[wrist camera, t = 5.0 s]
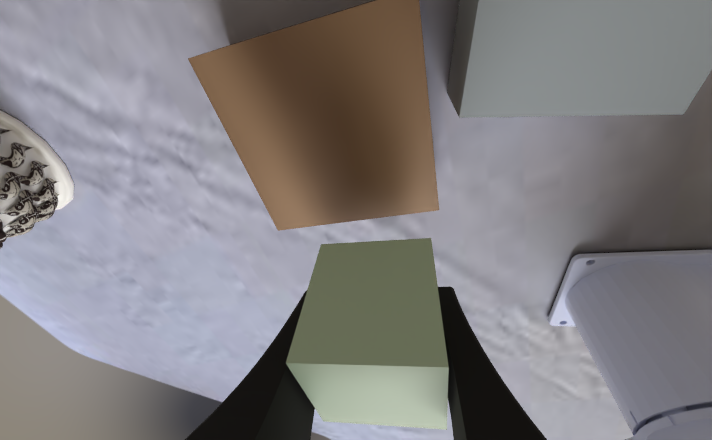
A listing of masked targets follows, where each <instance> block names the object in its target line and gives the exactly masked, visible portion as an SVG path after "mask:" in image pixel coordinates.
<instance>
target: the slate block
mask: <svg viewBox="0 0 712 440" xmlns="http://www.w3.org/2000/svg"><path fill="white" fill-rule="evenodd" d="M711 70H712V0H459V6H458V14H457V21H456V29H455V36H454V44H453V51H452V59H451V66H450V74H449V82H448V89H447V93H448V95H449V97H450V99H451V102H452V104H453V106H454V108H455V110H456V112H457V114H458V116H459V118H468V117H542V116H616V115H683V114H684V113H685V111H686V110H687V108H688V106H689V105H690V103H691V102H692V100H693V99H694V97H695V95H696V94H697V92H698V91H699V89H700V88H701V86H702V84H703V83H704V81H705V80H706V78H707V77H708V75H709V73H710V72H711Z"/></svg>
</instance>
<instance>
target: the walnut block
mask: <svg viewBox="0 0 712 440" xmlns="http://www.w3.org/2000/svg"><path fill="white" fill-rule="evenodd" d="M188 60H189V62H190V64H191V65H192V67H193V69H194V71H195V73H196V75H197V77H198V79H199V81H200V83H201V85H202V86H203V88H204V90H205V92H206V94H207V96H208V98H209V100H210V102H211V104H212V106H213V107H214V109H215V111H216V113H217V115H218V117H219V119H220V121H221V123H222V125H223V126H224V128H225V130H226V132H227V134H228V136H229V138H230V140H231V142H232V144H233V146H234V147H235V149H236V151H237V153H238V155H239V157H240V159H241V161H242V163H243V165H244V166H245V168H246V170H247V172H248V174H249V176H250V178H251V180H252V182H253V184H254V186H255V187H256V189H257V191H258V193H259V195H260V197H261V199H262V201H263V203H264V205H265V207H266V208H267V210H268V212H269V214H270V216H271V218H272V220H273V222H274V224H275V226H276V227H277V229H278V230H286V229H294V228H302V227H310V226H317V225H325V224H333V223H341V222H349V221H357V220H365V219H373V218H381V217H389V216H397V215H404V214H412V213H420V212H428V211H436V210H439V203H438V193H437V182H436V172H435V161H434V151H433V141H432V130H431V120H430V109H429V99H428V88H427V78H426V67H425V57H424V46H423V36H422V26H421V15H420V5H419V0H374V1H371V2H368V3H365V4H361V5H358V6H355V7H352V8H349V9H345V10H342V11H339V12H336V13H332V14H329V15H326V16H323V17H319V18H316V19H313V20H310V21H306V22H303V23H300V24H297V25H294V26H290V27H287V28H284V29H281V30H277V31H274V32H271V33H268V34H264V35H261V36H258V37H255V38H251V39H248V40H245V41H242V42H239V43H235V44H232V45H229V46H226V47H223V48H220V49H216V50H213V51H210V52H207V53H204V54H201V55H198V56H195V57H192V58H189V59H188Z"/></svg>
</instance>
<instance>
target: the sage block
mask: <svg viewBox="0 0 712 440" xmlns="http://www.w3.org/2000/svg"><path fill="white" fill-rule="evenodd" d="M286 364H287V366H288V367H289V369H290V370H291V372H292V374H293V375H294V377H295V378H296V380H297V381H298V383H299V384H300V386H301V387H302V389H303V391H304V392H305V394H306V395H307V397H308V398H309V400H310V401H311V403H312V404H313V406H314V407H315V409H316V411H317V412H318V414H319V415H320V417H321V418H322V420H323V421H326V422H341V423H356V424H371V425H386V426H401V427H416V428H431V429H446V430H447V405H448V374H449V366H448V359H447V351H446V344H445V337H444V330H443V322H442V315H441V308H440V300H439V293H438V286H437V278H436V271H435V264H434V257H433V249H432V242H431V238H425V239H408V240H390V241H372V242H355V243H337V244H321V247H320V250H319V253H318V257H317V260H316V263H315V267H314V270H313V273H312V277H311V280H310V283H309V287H308V290H307V294H306V297H305V300H304V304H303V307H302V310H301V314H300V317H299V320H298V324H297V327H296V330H295V334H294V337H293V340H292V344H291V347H290V350H289V354H288V357H287V361H286Z"/></svg>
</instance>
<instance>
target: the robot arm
mask: <svg viewBox="0 0 712 440" xmlns="http://www.w3.org/2000/svg"><path fill="white" fill-rule="evenodd" d="M438 293H439V300H440V308H441V315H442V322H443V330H444V337H445V344H446V351H447V359H448V366H449V374H448V401H449V406H450V413H451V419H452V427H453V436H454V440H547V439H546V438H545V437H544V435H543V434H542V433H541V432H540V430H539V429H538V428H537V427H536V425H535V424H534V423H533V422H532V420H531V419H530V418H529V416H528V415H527V414H526V412H525V411H524V410H523V408H522V407H521V406H520V404H519V403H518V402H517V400H516V399H515V397H514V396H513V395H512V393H511V392H510V390H509V389H508V387H507V386H506V385H505V383H504V382H503V380H502V379H501V377H500V376H499V374H498V373H497V371H496V369H495V368H494V366H493V365H492V363H491V362H490V360H489V358H488V357H487V355H486V353H485V352H484V350H483V348H482V347H481V345H480V343H479V341H478V340H477V338H476V336H475V334H474V332H473V331H472V329H471V327H470V325H469V323H468V321H467V319H466V317H465V315H464V313H463V311H462V309H461V306H460V304H459V302H458V299H457V297H456V294H455V291H454V289H453V288H452V287H438ZM306 294H307V291H306V292H305V293H304V295H303V296H302V298H301V300H300V301H299V303H298V304H297V306H296V308H295V309H294V311H293V312H292V314H291V316H290V317H289V319H288V320H287V322H286V323H285V325H284V326H283V328H282V329H281V331H280V332H279V333H278V335H277V336H276V338H275V339H274V341H273V342H272V343H271V345H270V346H269V348H268V349H267V350H266V352H265V353H264V354H263V356H262V357H261V358H260V360H259V361H258V362H257V363H256V365H255V366H254V367H253V368H252V370H251V371H250V372H249V373H248V375H247V376H246V377H245V378H244V379H243V380H242V382H241V383H240V384H239V385H238V386H237V387H236V388H235V389H234V391H233V392H232V393H231V394H230V395H229V396H228V397H227V398H226V399H225V400H224V402H223V403H222V404H221V405H220V406H219V407H218V408H217V409H216V410H215V411H214V412H213V413H212V414H211V415H210V416H209V417H208V418H207V419H206V420H205V421H204V422H203V423H202V424H201V425H200V426H199V427H198V428H196V429H195V430H194V431H193V432H192V433H191V434H190V435H189V436H188V437H187V438H186V439H185V440H310V438H311V437H310V436H311V430H312V423H313V416H314V409H315V407H314V406H313V404H312V403H311V401H310V400H309V398H308V397H307V395H306V394H305V392H304V391H303V389H302V387H301V386H300V384H299V383H298V381H297V380H296V378H295V377H294V375H293V374H292V372H291V370H290V369H289V367H288V366H287V364H286V361H287V357H288V354H289V350H290V347H291V344H292V340H293V337H294V334H295V330H296V327H297V324H298V320H299V317H300V314H301V310H302V307H303V304H304V300H305V297H306ZM548 322H549V324H550V325H552V326H576V328H577V329H578V331H579V333H580V335H581V337H582V339H583V341H584V343H585V345H586V346H587V348H588V350H589V352H590V354H591V356H592V358H593V360H594V361H595V363H596V365H597V367H598V369H599V371H600V373H601V375H602V377H603V378H604V380H605V382H606V384H607V386H608V388H609V390H610V392H611V394H612V395H613V397H614V399H615V401H616V403H617V405H618V407H619V409H620V411H621V412H622V414H623V416H624V418H625V420H626V422H627V424H628V426H629V428H630V429H631V431H632V433H633V435H634V436H633V437H631V438H628V439H625V440H712V250H684V251H653V252H623V253H593V254H578V255H575V256H574V257H573V258H572V259H571V261H570V264H569V267H568V269H567V272H566V274H565V277H564V279H563V282H562V284H561V287H560V289H559V292H558V294H557V297H556V300H555V302H554V305H553V307H552V310H551V312H550V315H549V317H548Z"/></svg>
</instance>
